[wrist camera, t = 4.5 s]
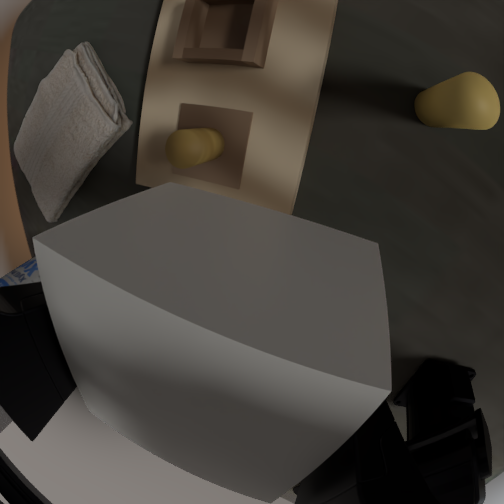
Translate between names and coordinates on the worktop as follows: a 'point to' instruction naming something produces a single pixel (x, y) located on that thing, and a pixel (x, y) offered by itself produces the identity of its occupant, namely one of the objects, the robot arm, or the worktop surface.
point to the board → (234, 96)
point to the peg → (459, 103)
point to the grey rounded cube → (220, 332)
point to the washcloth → (69, 128)
